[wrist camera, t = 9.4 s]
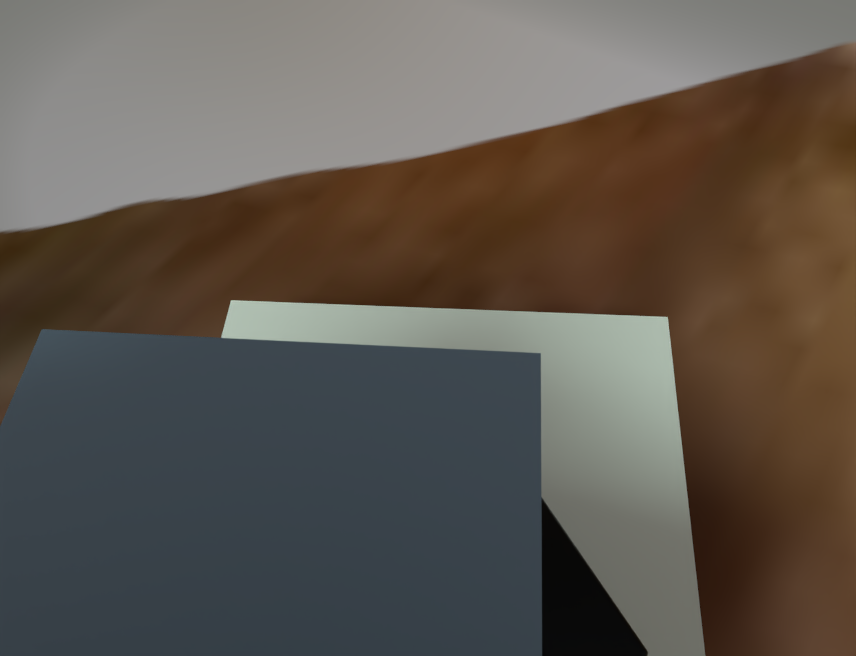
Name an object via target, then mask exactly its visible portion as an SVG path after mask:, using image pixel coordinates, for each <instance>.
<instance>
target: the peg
mask: <svg viewBox="0 0 856 656" xmlns="http://www.w3.org/2000/svg"><path fill="white" fill-rule="evenodd" d="M0 656H542V507H541V353H528V352H507V351H486V350H465V349H444V348H423V347H402V346H381V345H360V344H339V343H318V342H297V341H276V340H255V339H234V338H213V337H192V336H171V335H150V334H129V333H108V332H87V331H66V330H45V329H42V330H41V333H40V335H39V337H38V340H37V342H36V344H35V347H34V349H33V351H32V354H31V356H30V358H29V361H28V363H27V365H26V368H25V370H24V372H23V375H22V377H21V379H20V382H19V384H18V386H17V389H16V391H15V393H14V396H13V398H12V400H11V403H10V405H9V407H8V410H7V412H6V414H5V417H4V419H3V421H2V424H1V426H0Z"/></svg>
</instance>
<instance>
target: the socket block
mask: <svg viewBox="0 0 856 656" xmlns="http://www.w3.org/2000/svg"><path fill="white" fill-rule="evenodd" d="M221 338H234V339H255V340H276V341H297V342H318V343H339V344H360V345H381V346H402V347H423V348H444V349H465V350H486V351H507V352H528V353H541V497H542V498H543V499H544V501H545V502H546V504H547V505H548V507H549V508H550V510H551V511H552V513H553V514H554V515H555V517H556V518H557V520H558V521H559V523H560V524H561V526H562V527H563V529H564V530H565V531H566V533H567V534H568V536H569V537H570V539H571V540H572V542H573V543H574V545H575V546H576V547H577V549H578V550H579V552H580V553H581V555H582V556H583V558H584V559H585V561H586V562H587V563H588V565H589V566H590V568H591V569H592V571H593V572H594V574H595V575H596V577H597V578H598V580H599V581H600V582H601V584H602V585H603V587H604V588H605V590H606V591H607V593H608V594H609V596H610V597H611V598H612V600H613V601H614V603H615V604H616V606H617V607H618V609H619V610H620V612H621V613H622V614H623V616H624V617H625V619H626V620H627V622H628V623H629V625H630V626H631V628H632V629H633V630H634V632H635V633H636V635H637V636H638V638H639V639H640V641H641V642H642V644H643V645H644V646H645V648H646V649H647V651H648V656H705V648H704V639H703V630H702V621H701V612H700V603H699V594H698V585H697V576H696V567H695V558H694V549H693V540H692V531H691V522H690V513H689V505H688V496H687V487H686V478H685V469H684V460H683V451H682V442H681V433H680V424H679V415H678V406H677V397H676V388H675V379H674V370H673V361H672V352H671V343H670V334H669V325H668V317H653V316H626V315H600V314H574V313H548V312H522V311H495V310H469V309H443V308H417V307H391V306H364V305H338V304H312V303H286V302H259V301H233V300H231V303H230V307H229V311H228V314H227V318H226V322H225V326H224V329H223V333H222V337H221Z"/></svg>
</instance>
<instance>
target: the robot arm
mask: <svg viewBox="0 0 856 656" xmlns="http://www.w3.org/2000/svg"><path fill="white" fill-rule="evenodd" d="M541 507H542V656H648V651H647V649H646V648H645V646H644V645H643V644H642V642H641V641H640V639H639V638H638V636H637V635H636V633H635V632H634V630H633V629H632V628H631V626H630V625H629V623H628V622H627V620H626V619H625V617H624V616H623V614H622V613H621V612H620V610H619V609H618V607H617V606H616V604H615V603H614V601H613V600H612V598H611V597H610V596H609V594H608V593H607V591H606V590H605V588H604V587H603V585H602V584H601V582H600V581H599V580H598V578H597V577H596V575H595V574H594V572H593V571H592V569H591V568H590V566H589V565H588V563H587V562H586V561H585V559H584V558H583V556H582V555H581V553H580V552H579V550H578V549H577V547H576V546H575V545H574V543H573V542H572V540H571V539H570V537H569V536H568V534H567V533H566V531H565V530H564V529H563V527H562V526H561V524H560V523H559V521H558V520H557V518H556V517H555V515H554V514H553V513H552V511H551V510H550V508H549V507H548V505H547V504H546V502H545V501H544V499H543V498H542V497H541Z"/></svg>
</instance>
